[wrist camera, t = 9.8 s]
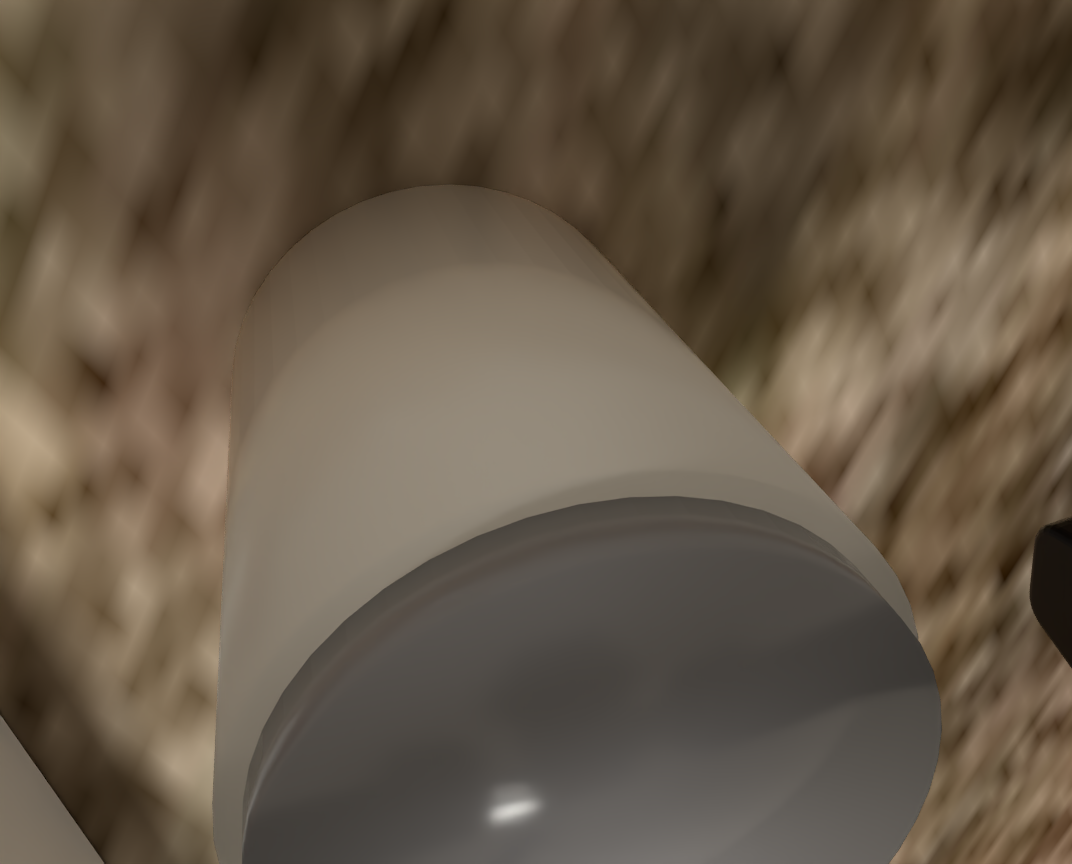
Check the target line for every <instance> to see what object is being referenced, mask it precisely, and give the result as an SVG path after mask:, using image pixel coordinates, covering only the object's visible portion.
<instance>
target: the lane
mask: <svg viewBox="0 0 1072 864" xmlns="http://www.w3.org/2000/svg"><path fill="white" fill-rule="evenodd" d="M0 864H104V862H103V861H102V859H101V858H100V856H99V855H98V854H97V852H96V851H95V849H94V848H93V846H92V845H91V844H90V842H89V841H88V839H87V838H86V836H85V835H84V834H83V832H82V831H81V829H80V828H79V826H78V825H77V824H76V822H75V821H74V819H73V818H72V816H71V815H70V814H69V812H68V811H67V809H66V808H65V806H64V805H63V804H62V802H61V801H60V799H59V798H58V796H57V795H56V794H55V792H54V791H53V789H52V788H51V786H50V785H49V784H48V782H47V781H46V779H45V778H44V777H43V775H42V774H41V772H40V771H39V769H38V768H37V767H36V765H35V764H34V762H33V761H32V759H31V758H30V757H29V755H28V754H27V752H26V751H25V749H24V748H23V747H22V745H21V744H20V742H19V741H18V739H17V738H16V737H15V735H14V734H13V732H12V731H11V729H10V728H9V727H8V725H7V724H6V722H5V721H4V719H3V718H2V717H1V715H0Z"/></svg>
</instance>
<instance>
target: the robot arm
mask: <svg viewBox="0 0 1072 864" xmlns="http://www.w3.org/2000/svg"><path fill="white" fill-rule="evenodd" d="M1030 602H1031V606H1032V609H1033V612H1034V614H1035V616H1036V618H1037V620H1038V622H1039V623H1040V625H1041V626H1042V628H1043V629H1044V630H1045V632H1046V633H1047V635H1048V636H1049V637H1050V639H1051V640H1052V642H1053V643H1054V644H1055V646H1056V647H1057V648H1058V650H1059V651H1060V653H1061V654H1062V655H1063V657H1064V658H1065V660H1066V661H1067V662H1068V664H1069V665H1070V667H1071V668H1072V516H1071V517H1068V518H1065V519H1062V520H1059V521H1056V522H1053V523H1050V524H1047V525H1045V526H1043V527H1042V528H1040V530H1039V532H1038V533H1037V535H1036V537H1035V543H1034V553H1033V563H1032V573H1031V583H1030Z"/></svg>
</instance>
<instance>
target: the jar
mask: <svg viewBox="0 0 1072 864" xmlns="http://www.w3.org/2000/svg"><path fill="white" fill-rule="evenodd" d="M941 731H942V725H941V704H940V696H939V692H938V688H937V684H936V680H935V676H934V672H933V669H932V667H931V665H930V663H929V661H928V659H927V656H926V654H925V652H924V650H923V648H922V646H921V644H920V642H919V641H918V634H917V630H916V626H915V622H914V618H913V614H912V610H911V606H910V603H909V601H908V599H907V597H906V595H905V592H904V590H903V588H902V586H901V584H900V582H899V580H898V577H897V575H896V574H895V573H894V571H893V570H892V568H891V567H890V566H889V564H888V563H887V562H886V560H885V559H884V558H883V556H882V555H881V553H880V552H879V551H878V549H877V548H876V547H875V546H874V545H873V544H872V543H871V542H870V540H869V539H868V538H867V537H866V536H865V535H864V534H863V533H862V532H861V531H860V530H859V529H858V528H857V527H856V526H855V524H854V523H853V522H852V521H851V520H850V519H849V518H848V517H847V516H846V515H845V514H844V513H843V512H842V511H841V509H840V508H839V507H838V506H837V505H836V504H835V503H834V502H833V501H832V500H831V499H830V498H829V497H828V496H827V495H826V493H825V492H824V491H823V490H822V489H821V488H820V487H819V486H818V485H817V484H816V483H815V482H814V481H813V480H812V478H811V477H810V476H809V475H808V474H807V473H806V472H805V471H804V470H803V469H802V468H801V467H800V466H799V465H798V463H797V462H796V461H795V460H794V459H793V458H792V457H791V456H790V455H789V454H788V453H787V452H786V451H785V450H784V449H783V447H782V446H781V445H780V444H779V443H778V442H777V441H776V440H775V439H774V438H773V437H772V436H771V435H770V434H769V432H768V431H767V430H766V429H765V428H764V427H763V426H762V425H761V424H760V423H759V422H758V421H757V420H756V419H755V418H754V416H753V415H752V414H751V413H750V412H749V411H748V410H747V409H746V408H745V407H744V406H743V405H742V404H741V403H740V401H739V400H738V399H737V398H736V397H735V396H734V395H733V394H732V393H731V392H730V391H729V390H728V389H727V388H726V387H725V385H724V384H723V383H722V382H721V381H720V380H719V379H718V378H717V377H716V376H715V375H714V374H713V373H712V372H711V370H710V369H709V368H708V367H707V366H706V365H705V364H704V363H703V362H702V361H701V360H700V359H699V358H698V357H697V356H696V354H695V353H694V352H693V351H692V350H691V349H690V348H689V347H688V346H687V345H686V344H685V343H684V342H683V341H682V339H681V338H680V337H679V336H678V335H677V334H676V333H675V332H674V331H673V330H672V329H671V328H670V327H669V326H668V325H667V323H666V322H665V321H664V320H663V319H662V318H661V317H660V316H659V315H658V314H657V313H656V312H655V311H654V310H653V308H652V307H651V306H650V305H649V304H648V303H647V302H646V301H645V300H644V299H643V298H642V297H641V296H640V295H639V293H638V292H637V291H636V290H635V289H634V288H633V287H632V286H631V285H630V284H629V283H628V282H627V281H626V280H625V279H624V277H623V276H622V275H621V274H620V273H619V272H618V271H617V270H616V269H615V268H614V267H613V266H612V265H611V264H610V262H609V261H608V260H607V259H606V258H605V257H604V256H603V255H602V254H601V253H600V252H599V251H598V250H597V249H596V248H595V246H594V245H593V244H592V243H590V242H589V241H588V240H587V239H586V238H585V237H584V236H583V235H582V234H581V233H580V232H579V231H578V230H577V229H576V228H574V227H573V226H572V225H570V224H569V223H567V222H566V221H565V220H563V219H562V218H560V217H559V216H558V215H556V214H555V213H553V212H551V211H549V210H547V209H545V208H543V207H541V206H539V205H538V204H536V203H534V202H532V201H529V200H527V199H524V198H521V197H518V196H515V195H512V194H509V193H507V192H503V191H498V190H493V189H488V188H483V187H478V186H466V185H451V184H446V185H431V186H418V187H413V188H408V189H403V190H398V191H393V192H389V193H386V194H383V195H380V196H377V197H374V198H371V199H368V200H365V201H362V202H360V203H358V204H356V205H354V206H352V207H350V208H348V209H346V210H344V211H342V212H340V213H338V214H336V215H334V216H332V217H331V218H329V219H328V220H326V221H325V222H323V223H322V224H320V225H319V226H317V227H316V228H314V229H313V230H311V231H310V232H309V233H308V234H307V235H305V236H304V237H303V238H302V239H301V240H300V241H299V242H298V243H296V244H295V245H294V246H293V247H292V248H291V249H290V250H288V252H287V253H286V254H285V255H284V256H283V257H282V259H281V260H280V261H279V262H278V263H277V264H276V265H275V267H274V268H273V269H272V270H271V271H270V272H269V274H268V276H267V277H266V279H265V280H264V282H263V283H262V285H261V286H260V288H259V290H258V291H257V293H256V294H255V296H254V298H253V300H252V302H251V304H250V307H249V309H248V311H247V313H246V315H245V317H244V320H243V322H242V326H241V329H240V333H239V336H238V340H237V343H236V347H235V354H234V362H233V369H232V385H231V407H230V429H229V451H228V473H227V495H226V517H225V539H224V561H223V582H222V604H221V626H220V648H219V670H218V692H217V714H216V736H215V758H214V780H213V802H212V806H213V834H214V843H215V847H216V852H217V856H218V860H219V864H889V862H890V861H891V860H892V858H893V857H894V856H895V854H896V853H897V852H898V850H899V849H900V847H901V845H902V844H903V842H904V840H905V838H906V837H907V835H908V833H909V832H910V830H911V828H912V826H913V825H914V823H915V821H916V819H917V817H918V815H919V813H920V810H921V808H922V806H923V803H924V801H925V799H926V797H927V794H928V792H929V789H930V786H931V782H932V779H933V775H934V772H935V768H936V765H937V761H938V755H939V747H940V739H941Z"/></svg>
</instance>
